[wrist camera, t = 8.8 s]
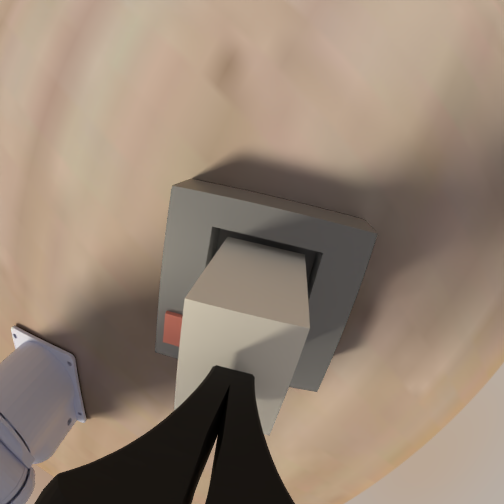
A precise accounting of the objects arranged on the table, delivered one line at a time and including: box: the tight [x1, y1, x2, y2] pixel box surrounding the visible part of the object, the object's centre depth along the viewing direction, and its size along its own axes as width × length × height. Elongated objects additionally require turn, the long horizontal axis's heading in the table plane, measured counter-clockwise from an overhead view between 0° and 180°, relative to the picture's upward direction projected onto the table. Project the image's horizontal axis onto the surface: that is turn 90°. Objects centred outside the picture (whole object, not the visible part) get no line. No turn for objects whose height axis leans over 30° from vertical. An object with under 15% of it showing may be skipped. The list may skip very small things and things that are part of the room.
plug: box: [174, 237, 310, 435], centre depth 15 cm, size 4×6×8 cm
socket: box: [155, 179, 377, 392], centre depth 18 cm, size 10×10×3 cm
